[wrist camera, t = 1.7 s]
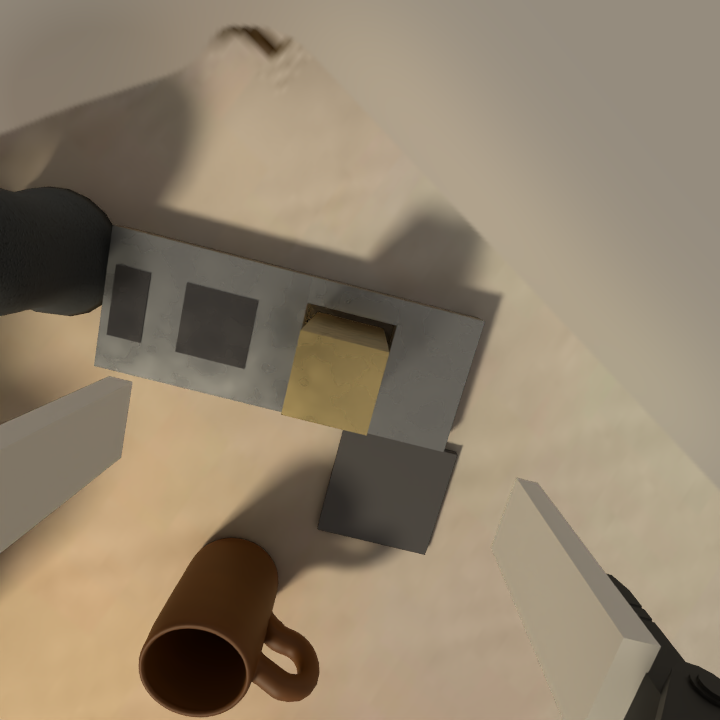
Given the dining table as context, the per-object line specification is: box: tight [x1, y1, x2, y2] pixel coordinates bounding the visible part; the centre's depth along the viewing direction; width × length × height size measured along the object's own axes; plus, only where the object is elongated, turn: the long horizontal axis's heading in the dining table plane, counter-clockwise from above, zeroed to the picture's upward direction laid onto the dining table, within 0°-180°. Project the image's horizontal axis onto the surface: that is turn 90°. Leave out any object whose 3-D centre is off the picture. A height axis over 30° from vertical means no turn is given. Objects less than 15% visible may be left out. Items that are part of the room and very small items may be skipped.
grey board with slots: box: [94, 225, 485, 452], centre depth 33 cm, size 26×10×2 cm, turn 76°
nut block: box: [281, 312, 389, 436], centre depth 30 cm, size 5×5×9 cm
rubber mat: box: [318, 430, 457, 555], centre depth 36 cm, size 9×9×1 cm
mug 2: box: [139, 538, 319, 717], centre depth 34 cm, size 12×8×9 cm, turn 69°
